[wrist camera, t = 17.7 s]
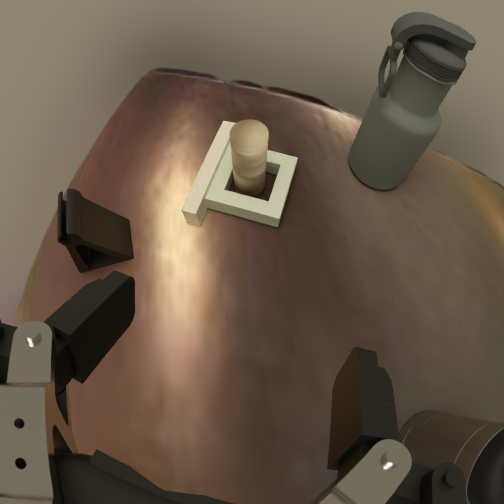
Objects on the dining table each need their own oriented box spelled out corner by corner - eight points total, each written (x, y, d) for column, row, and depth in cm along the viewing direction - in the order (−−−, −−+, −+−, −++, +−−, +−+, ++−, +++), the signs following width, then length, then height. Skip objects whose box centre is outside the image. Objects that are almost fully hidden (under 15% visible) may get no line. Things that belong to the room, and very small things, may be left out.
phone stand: (129, 220, 43) (95, 178, 32) (134, 258, 41) (96, 224, 30) (78, 236, 43) (36, 201, 31) (80, 272, 41) (33, 245, 29)
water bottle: (342, 182, 45) (409, 26, 19) (347, 135, 48) (397, -8, 22) (402, 199, 44) (499, 70, 18) (401, 152, 47) (474, 27, 21)
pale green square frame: (295, 168, 46) (297, 157, 43) (277, 227, 43) (279, 218, 40) (231, 152, 47) (230, 141, 44) (207, 208, 44) (204, 198, 41)
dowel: (268, 178, 45) (273, 124, 34) (259, 203, 44) (262, 152, 33) (240, 170, 46) (237, 116, 34) (230, 195, 44) (224, 143, 33)
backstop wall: (237, 139, 48) (236, 123, 44) (200, 226, 43) (195, 214, 39) (225, 137, 48) (223, 120, 44) (187, 222, 43) (181, 210, 39)
